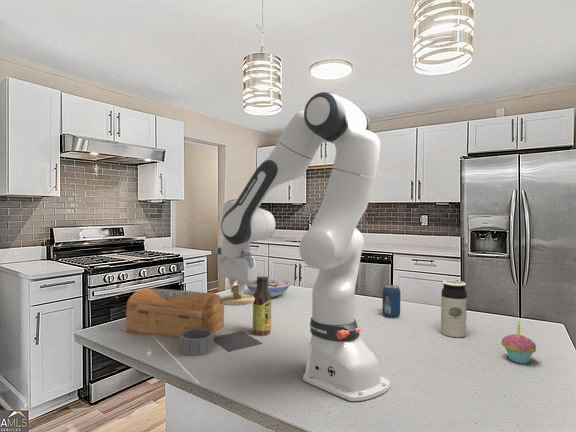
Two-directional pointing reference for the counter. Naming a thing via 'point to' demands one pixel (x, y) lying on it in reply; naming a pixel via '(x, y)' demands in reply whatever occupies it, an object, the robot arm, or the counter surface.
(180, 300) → the wooden box
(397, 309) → the soda can
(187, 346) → the bowl
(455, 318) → the travel mug
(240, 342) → the mat
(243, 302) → the lid
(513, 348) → the cupcake
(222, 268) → the robot arm
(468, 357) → the counter surface
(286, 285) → the ramen bowl
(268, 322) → the sauce bottle
